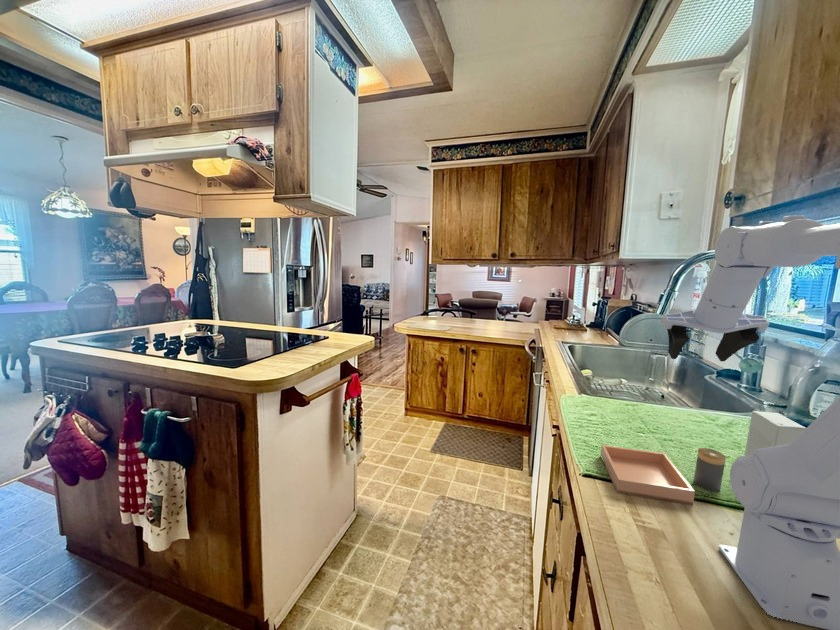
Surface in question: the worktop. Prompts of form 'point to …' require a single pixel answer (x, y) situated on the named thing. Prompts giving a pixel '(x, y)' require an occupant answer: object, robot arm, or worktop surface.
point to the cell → (709, 469)
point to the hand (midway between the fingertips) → (695, 356)
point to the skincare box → (771, 431)
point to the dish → (646, 475)
